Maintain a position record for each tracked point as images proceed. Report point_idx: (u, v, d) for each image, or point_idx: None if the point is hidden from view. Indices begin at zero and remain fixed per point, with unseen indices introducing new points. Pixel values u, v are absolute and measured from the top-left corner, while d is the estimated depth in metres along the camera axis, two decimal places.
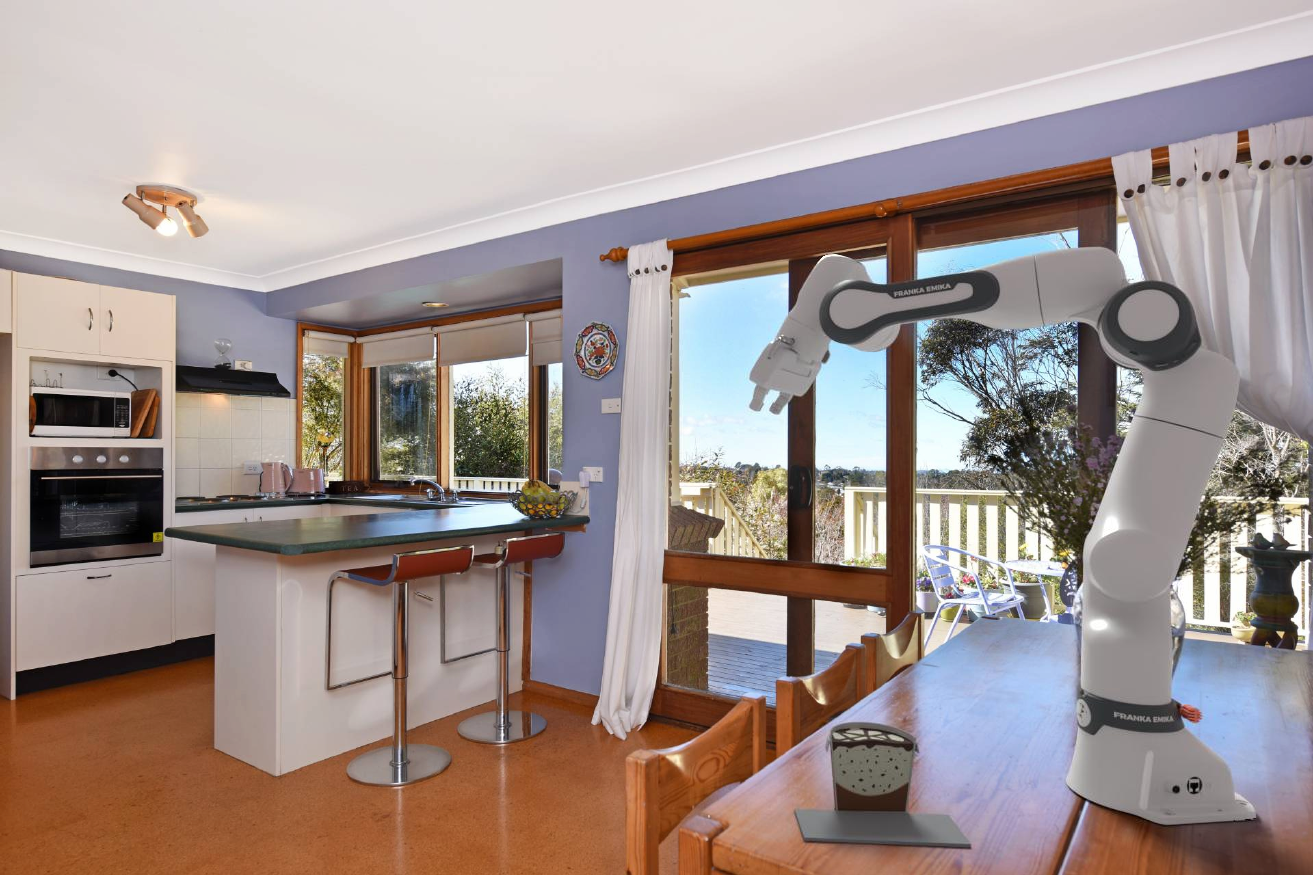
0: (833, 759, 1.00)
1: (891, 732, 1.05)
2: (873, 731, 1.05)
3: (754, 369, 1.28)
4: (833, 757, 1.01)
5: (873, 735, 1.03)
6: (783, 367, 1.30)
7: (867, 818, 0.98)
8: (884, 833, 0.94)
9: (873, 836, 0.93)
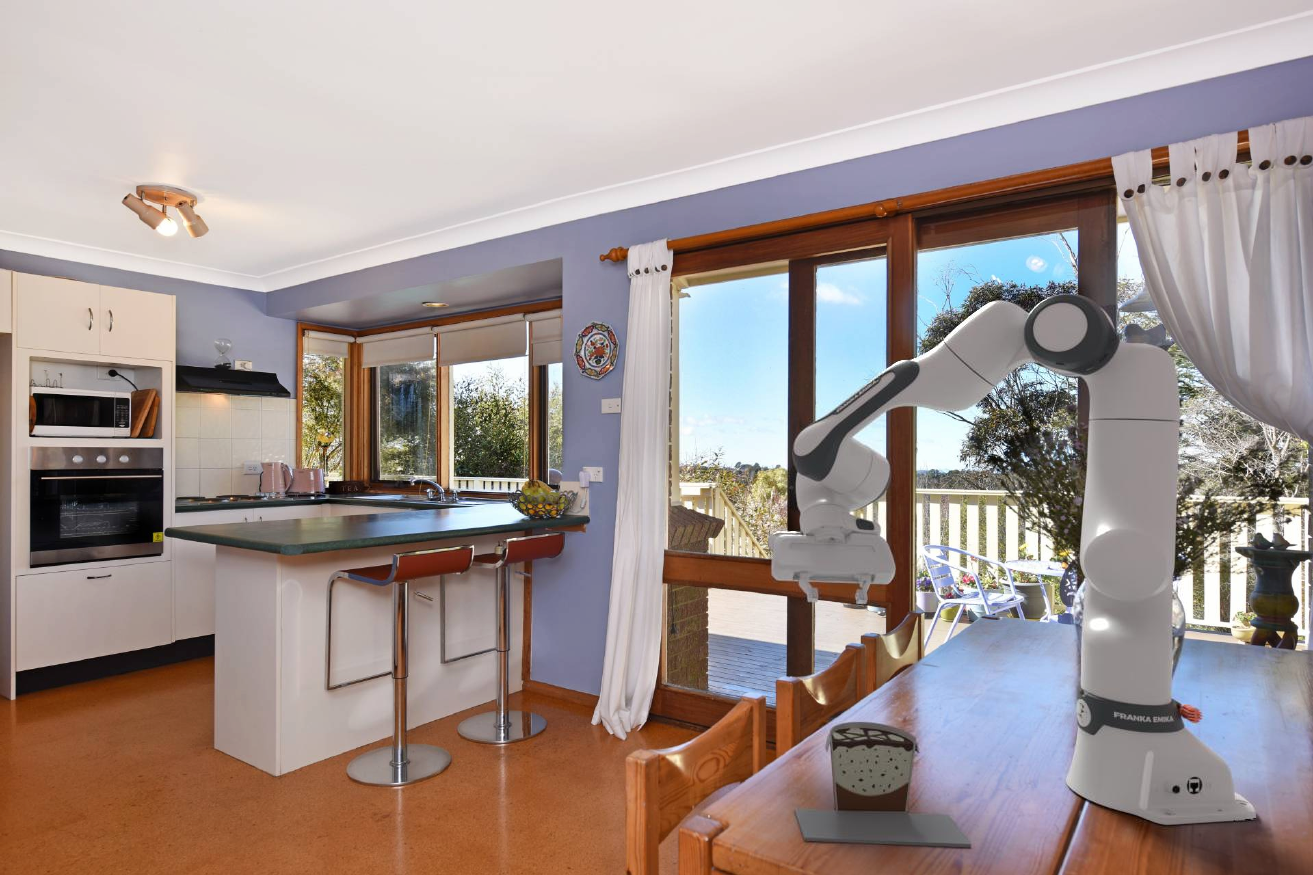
0: (833, 759, 1.00)
1: (891, 732, 1.05)
2: (873, 731, 1.05)
3: (771, 569, 1.29)
4: (833, 757, 1.01)
5: (873, 735, 1.03)
6: (797, 549, 1.29)
7: (867, 818, 0.98)
8: (884, 833, 0.94)
9: (873, 836, 0.93)
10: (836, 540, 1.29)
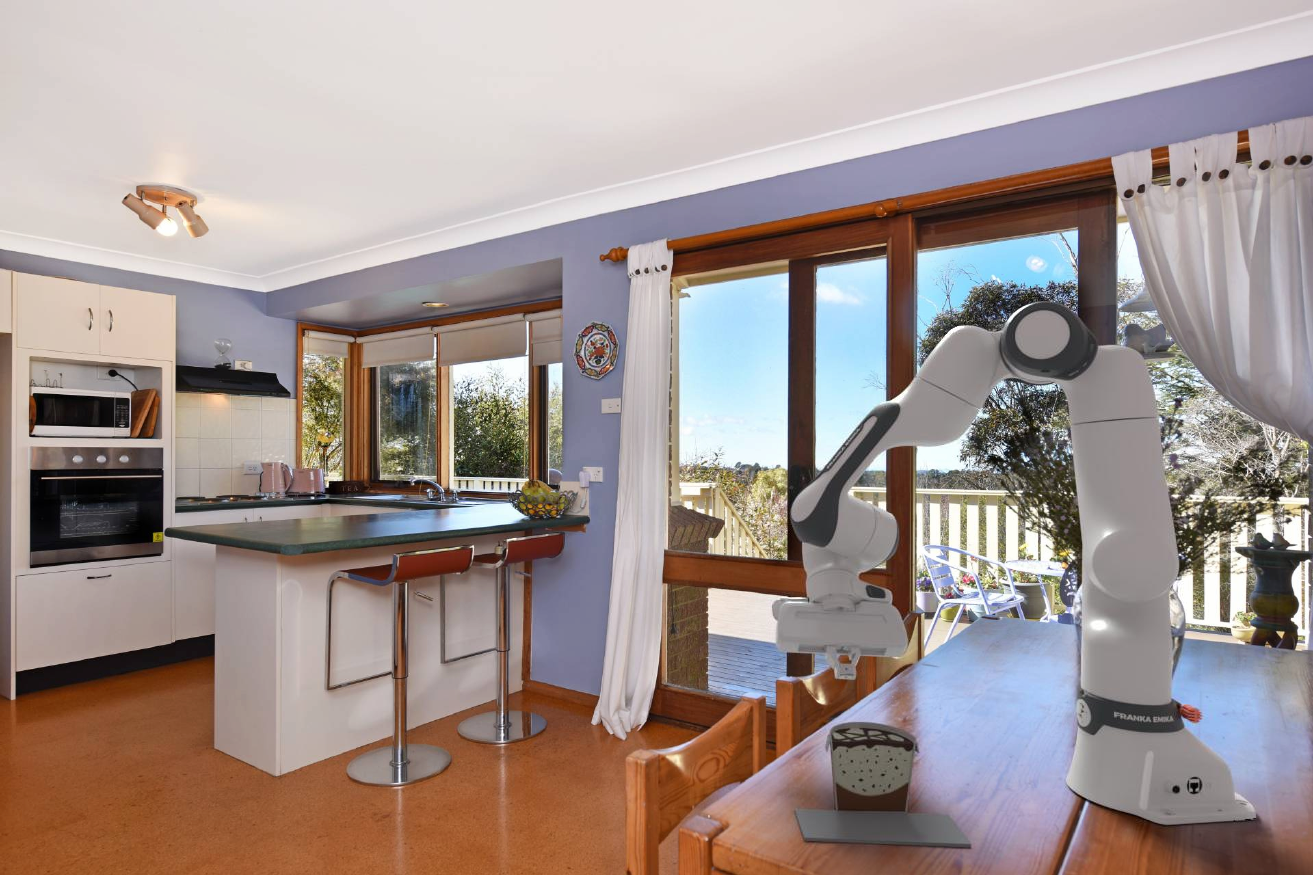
0: (833, 759, 1.00)
1: (891, 732, 1.05)
2: (873, 731, 1.05)
3: None
4: (833, 757, 1.01)
5: (873, 735, 1.03)
6: (803, 618, 1.21)
7: (867, 818, 0.98)
8: (884, 833, 0.94)
9: (873, 836, 0.93)
10: (845, 609, 1.21)
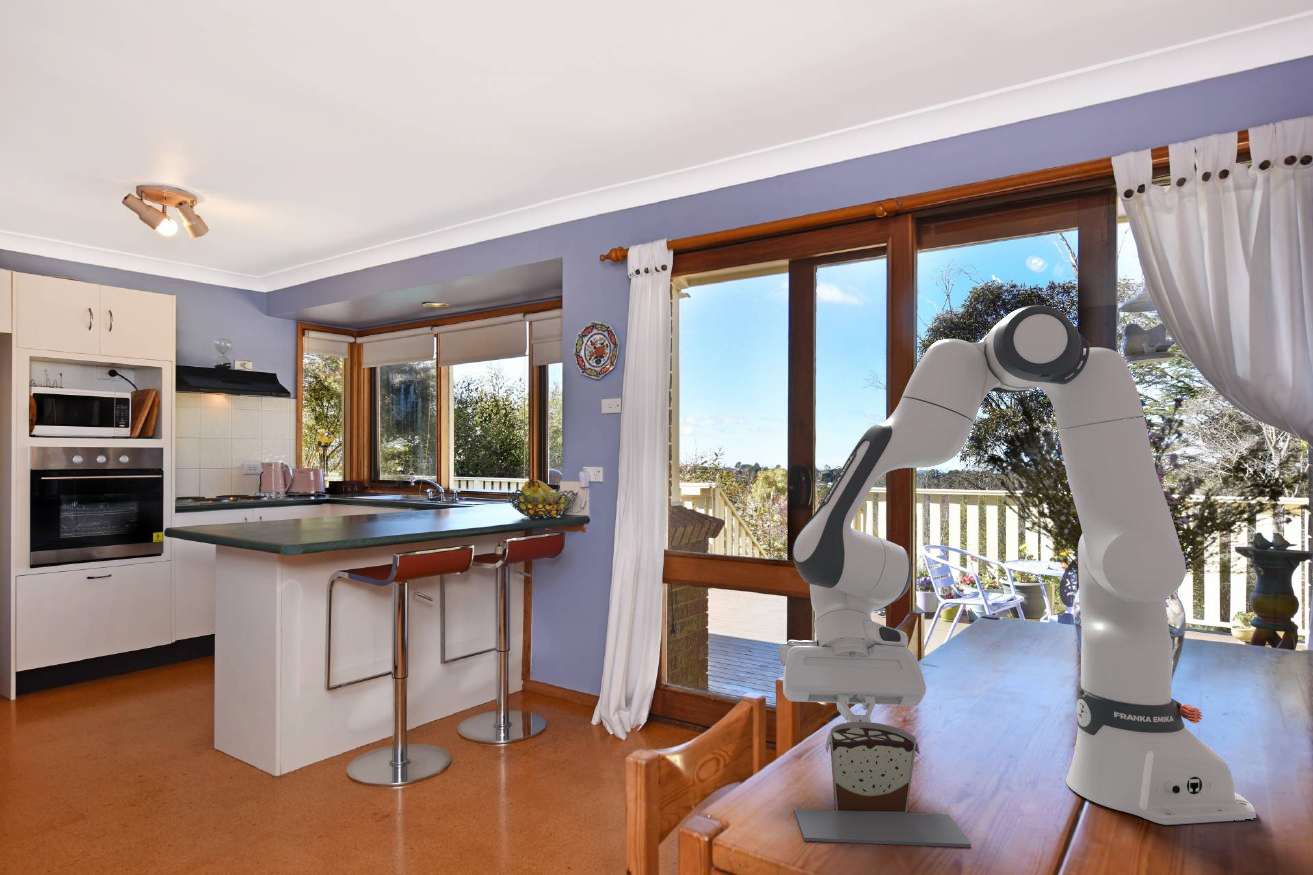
0: (833, 759, 1.00)
1: (891, 732, 1.04)
2: (873, 732, 1.05)
3: (783, 687, 1.13)
4: (833, 757, 1.00)
5: (873, 735, 1.03)
6: (813, 664, 1.12)
7: (867, 818, 0.98)
8: (884, 833, 0.94)
9: (873, 836, 0.93)
10: (857, 654, 1.13)
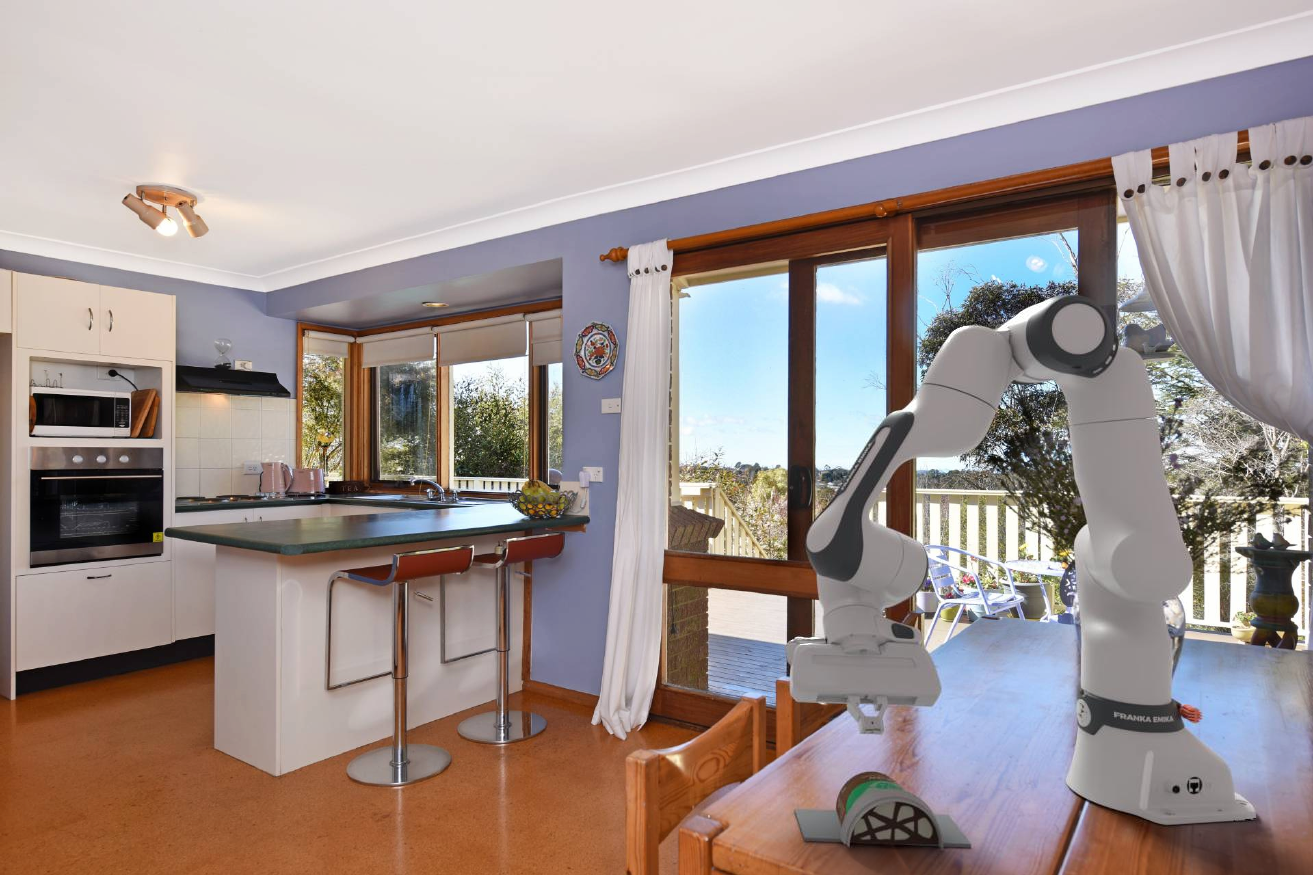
0: None
1: (925, 813, 0.92)
2: (905, 809, 0.92)
3: (790, 687, 1.07)
4: None
5: (901, 821, 0.92)
6: (821, 663, 1.06)
7: None
8: None
9: None
10: (868, 651, 1.07)
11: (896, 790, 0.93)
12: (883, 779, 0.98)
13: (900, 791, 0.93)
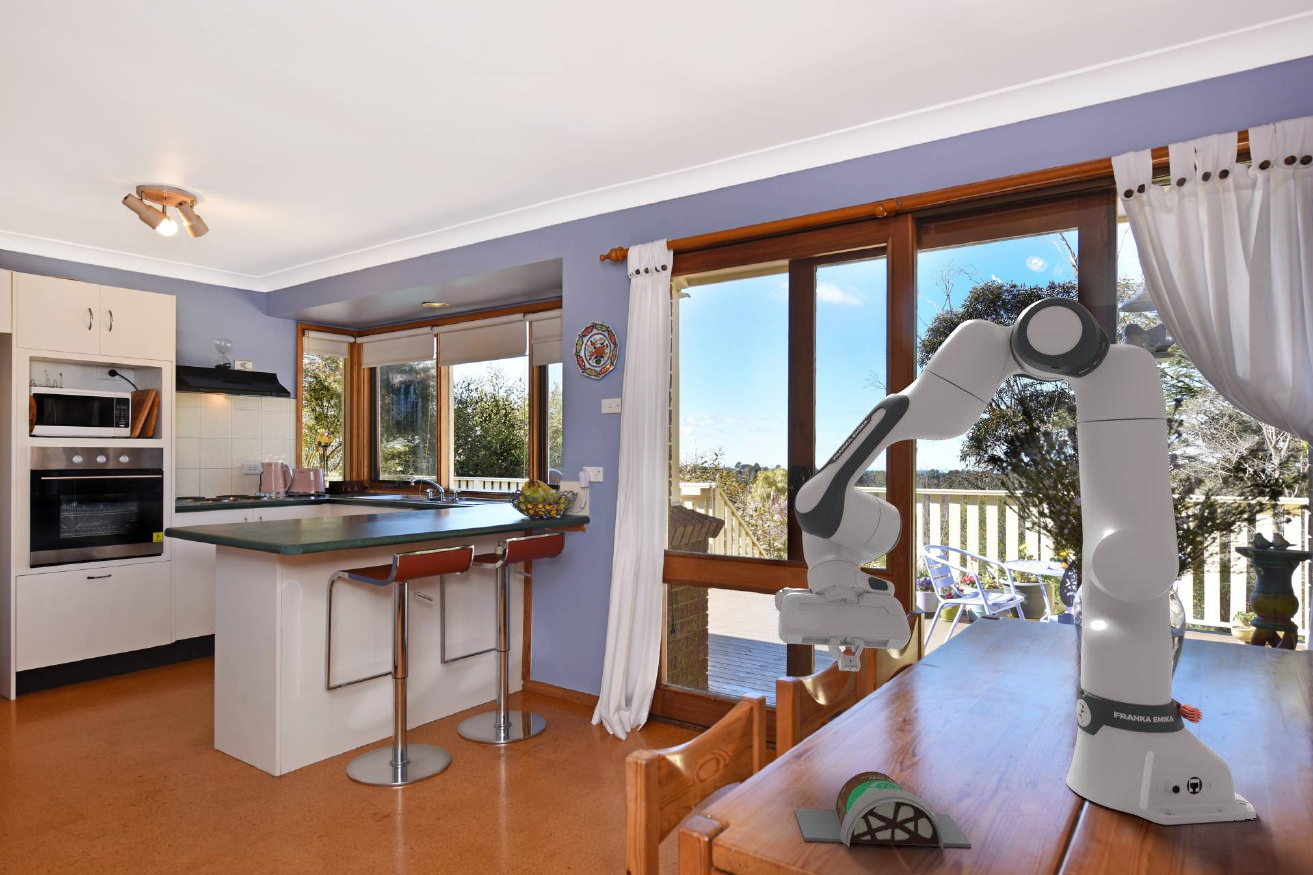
0: None
1: (925, 813, 0.92)
2: (905, 809, 0.92)
3: (778, 630, 1.21)
4: None
5: (901, 821, 0.92)
6: (807, 609, 1.20)
7: None
8: None
9: None
10: (848, 601, 1.21)
11: (896, 790, 0.93)
12: (883, 779, 0.98)
13: (900, 791, 0.93)
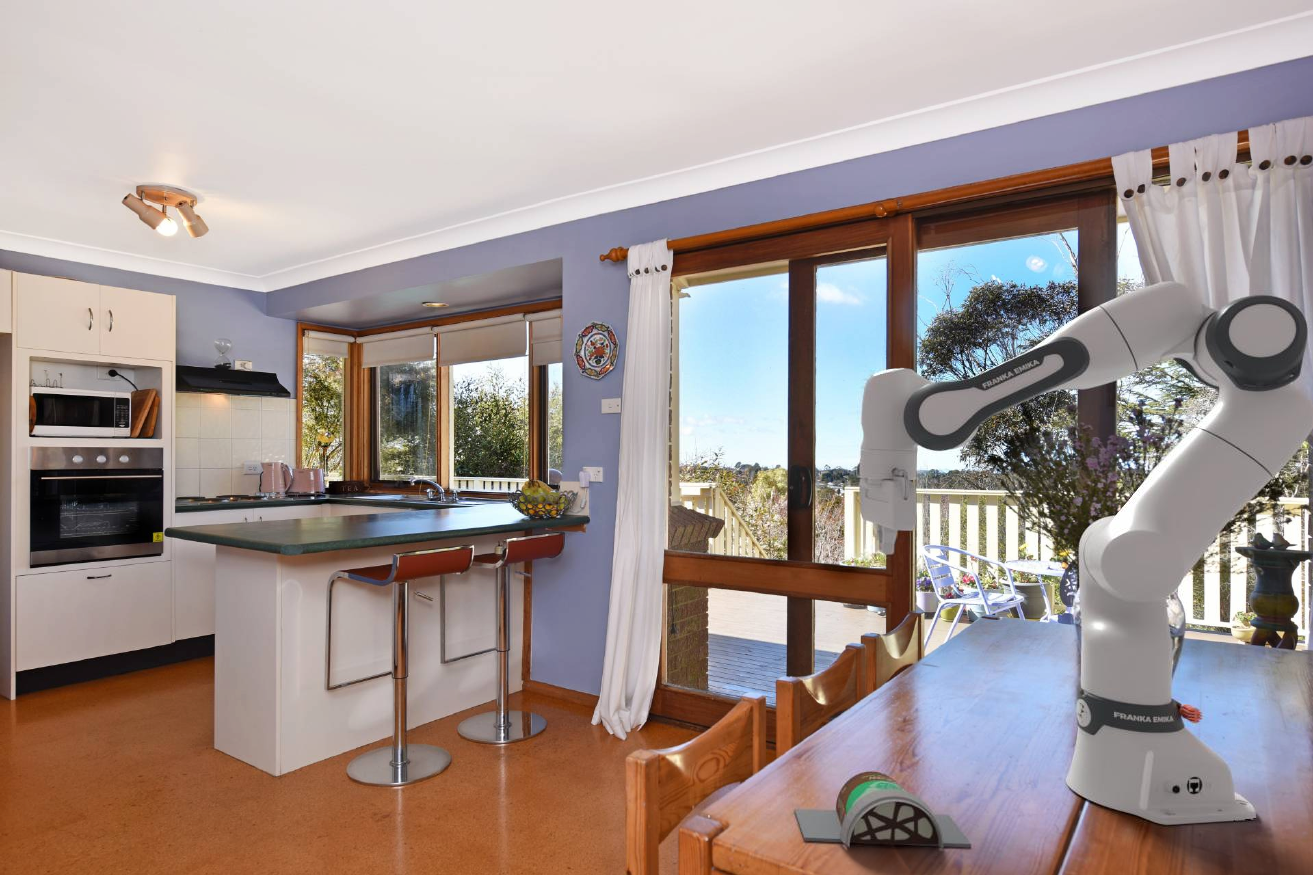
0: None
1: (925, 813, 0.92)
2: (905, 809, 0.92)
3: (896, 516, 1.15)
4: None
5: (901, 821, 0.92)
6: None
7: None
8: None
9: None
10: None
11: (896, 790, 0.93)
12: (883, 779, 0.98)
13: (900, 791, 0.93)
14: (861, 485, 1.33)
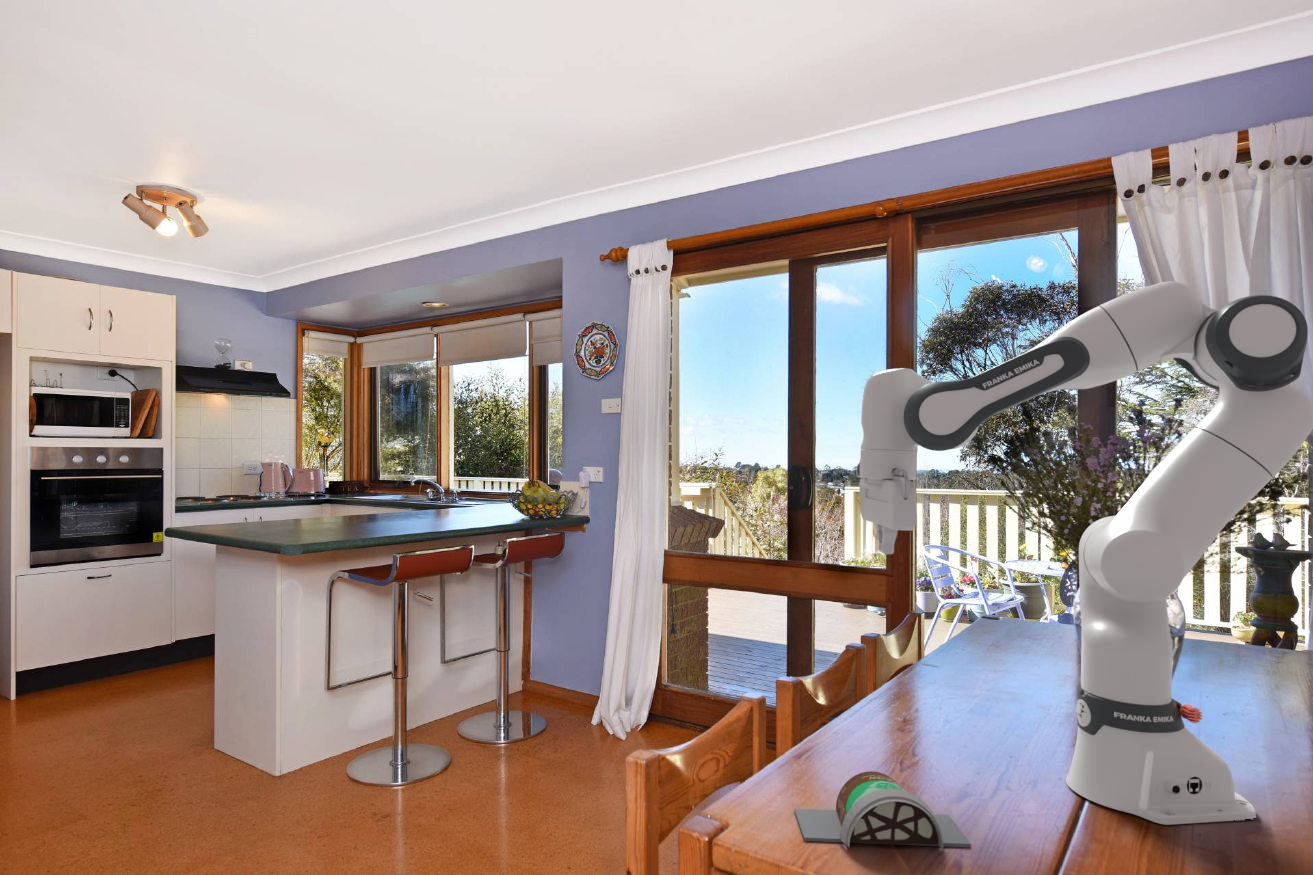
0: None
1: (925, 813, 0.92)
2: (905, 809, 0.92)
3: (897, 516, 1.15)
4: None
5: (901, 821, 0.92)
6: None
7: None
8: None
9: None
10: None
11: (896, 790, 0.93)
12: (883, 779, 0.98)
13: (900, 791, 0.93)
14: (861, 485, 1.33)
